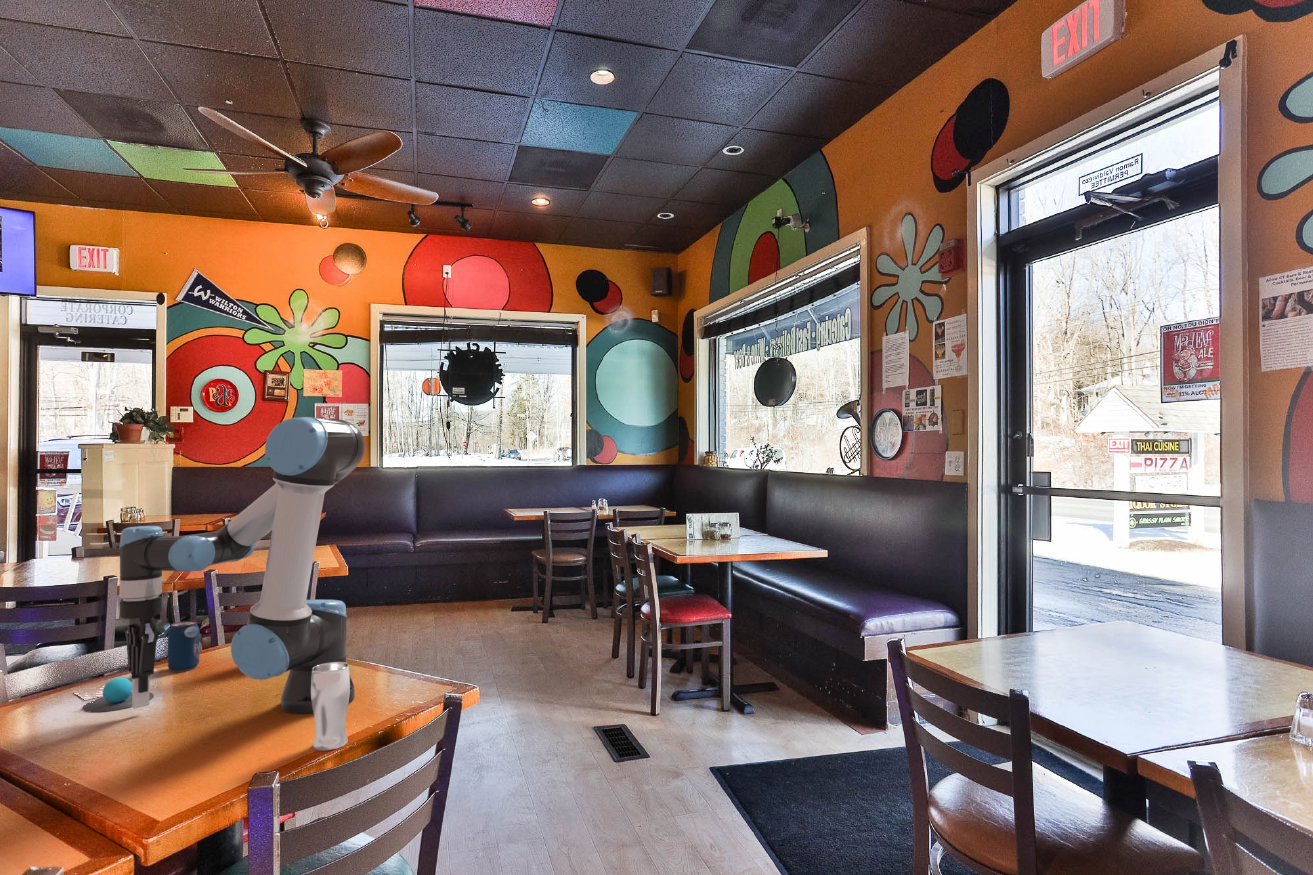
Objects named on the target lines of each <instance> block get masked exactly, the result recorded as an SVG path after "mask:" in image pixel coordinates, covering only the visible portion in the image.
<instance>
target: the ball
mask: <svg viewBox="0 0 1313 875" xmlns="http://www.w3.org/2000/svg"><path fill="white" fill-rule="evenodd" d="M103 686H104V688H103V697H104V699H105V700H106V701H108V702H110V703H119V702H122V701H124V700H126V699H127V698H128V697H129V696H130V694H131V693H132V681H130V680H129V679H127V678H125V677H116V678H112V679H111V680H109V681H108V682H107V683H105V685H103Z"/></svg>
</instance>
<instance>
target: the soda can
mask: <svg viewBox="0 0 1313 875" xmlns="http://www.w3.org/2000/svg"><path fill="white" fill-rule="evenodd" d="M167 632H168V633H167V667H168V669H169V670H170V672H173V673H181V672H182V673H183V672H187V671H192V670H195V669H196V668H197V667H198V665H199V664H200V627H199V625H198V622H197V621H196V620H185V621H184V620H183V621H178V622H173V623H171V624H170V627H169V630H168V631H167Z"/></svg>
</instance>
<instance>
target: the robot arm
mask: <svg viewBox="0 0 1313 875" xmlns="http://www.w3.org/2000/svg"><path fill="white" fill-rule="evenodd" d="M365 453H366V441H365V439H364V435H363V434H362V432H361V431H360V429H359V428H358V427H357V426H355V424H353V423H351V422H349V421H346V420H343V419H338V418H332V419H330V418H320V417H319V418H318V417H312V416H301V417H300V416H299V417H291V418H287V419H285V420H283V421H281V422H280V423H278V424H277V425H275V426H274V427H273V429H272V430H271V431H270V433H269V435H268V436H267V438H266V441H265V446H264V454H265V455H264V456H265V459H266V460H267V461H268V465H269V466H270V468H271V469H272V470H273V475H272V480H273V481H274V482H275V483H274V485H272V486H271V487H270V488H268V490H267V491H265V492H264V493H263V494H262V495H260V496H259V497H258V498H257V499H255V500H254V501H253V502H252V503H251V504H250V505H248V506H246V508H245V509H243V510H242V511H240V512H239V514H237V515H236V516H235V517H234V518H232V519H231V520H229V522H227V523H226V524H225V525H224V526H223V527H221V528H220V529H218V530H215V531H209V532H203V533H201V532H200V533H196V534H187V535H175V536H174V535H171V536H169V535H164V533H163V528H162V527H161V526H158V525H143V526H142V525H140V526H130V527H126V528H123V529H122V531H121V533H120V541H119V546H118V548H119V591H118V593H119V595H118V596H119V598H120V599H122V600H120V601H119V617H120V618H121V619H125V620H126V619H127V620H129V621H128V623H129V624H128V625H127V626H124V628H123V629H124V630H123V631H124V635H125V639H126V640H125V641H126V652H127V653H126V655H127V657H126V658H127V669H128V672H129V673H130V674H131V680H132V681H131V683H132V707H131V708H133V709H134V710H135V709H140V708H143V707H148V706H150V701H149V692H150V676H151V675H153V674H154V673H155V662H156V652H157V651H156V650H157V642H158V638H159V635H160V634H159V632H158V631H155V629H156V628H155V627H156V626H155V622H154V621H153V617H154V616H158V615H160V614H161V613H162V612H163V597H162V596H161V594H162V592H163V590H162V589H163V588H162V587H163V585H164V584H165V580H164V579H163V571H164V572H182V573H191V572H201V571H205V570H206V569H207V568H208V567H210V566H211V567H212V566H214V565H219V564H225V563H233V562H238V561H240V560H243V559H246V558H248V557H250V556H251V555H252V554H253V553H254V551H255V549H256V546H257V543H258V542H259V541H260V540H261V539H263V538H264V537H266V536H267V535H268V534H269V533H270V532H271V536H270V541H269V547H268V553H267V558H266V564H265V570H264V571H265V572H264V574H263V575H264V577H263V582H262V583H263V584H262V587H261V593H260V599H259V601H258V602H256V603H255V604H253V605H252V606H251V607H250V608H249V614H248V618H247V624H246V625H243V626H242V627H240V628H239V630H237V631H236V632H235V634H233V637H232V640H231V642H230V655H231V657H232V660H233V663H234V664H235V665H236V666H237V668H238V670H239V671H240V672H241V673H242V674H244V675H245V676H246V677H247V678H249V679H253V680H259V681H264V680H268V679H271V678H275V677H279V676H282V675H283V674H285V673H287V672H288V671H289V673H288V676H287V679H286V682H285V684H284V685H285V686H284V688H283V690H282V694H281V696H280V697H281V698H280V708H281V710H282V711H283V712H286V713H291V714H314V713H313V708H312V702H311V677H312V668H313V667H315V666H317V665H320V664H324V663H330V662H345V663H347V619H348V615H347V610H346V609H347V608H346V607H347V606H346V604H345V602H344V601H342V600H337V599H308V592H309V587H310V581H311V580H310V579H311V574H312V569H313V562H314V558H315V557H314V556H315V552H316V546H317V545H316V544H317V538H318V534H319V528H320V523H321V517H322V511H323V506H324V500H325V495H326V494H325V493H326V492H327V491H329V490H330V489H331V488H333V487H334V486H335V484H338V483H339V482H341V481H342V480H343V479H344V478H346V477H347V476H348V475H349V474H350V473H352V472H353V471H354V470H355V469H356V468H357V467H358V466H359V465H360V463H361V462H362V460H363V459H364V455H365ZM306 598H307V600H306ZM355 698H356V697H355V685H354V683H353V680H352V676H351V675H350V696H349V703H351V702H353V700H354V699H355ZM349 703H348V704H349Z"/></svg>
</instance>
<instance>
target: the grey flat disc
mask: <svg viewBox="0 0 1313 875" xmlns="http://www.w3.org/2000/svg"><path fill="white" fill-rule="evenodd" d="M154 696H155V695H154V693H152V692H150V691H149V702H150V701H152V699H153V698H154ZM94 700H95V701H93V700H91V701H89V702H86V703H85V704H86V705H85V704H84V705H83V706H82V710H83V711H84V710H85V712H87V711H91V712H90V713H107V712H108V713H109V712H114V711H121V710H125V709H129V708H130V709H131V708H132V693H131V694H130V696H129V697H128V698H127V699H126V700H124V701H122V702H119V703H110V702H108V701H106V700H105V699H104V697H100V698H95V699H94ZM90 702H91V703H90ZM92 702H93V703H92Z"/></svg>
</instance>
